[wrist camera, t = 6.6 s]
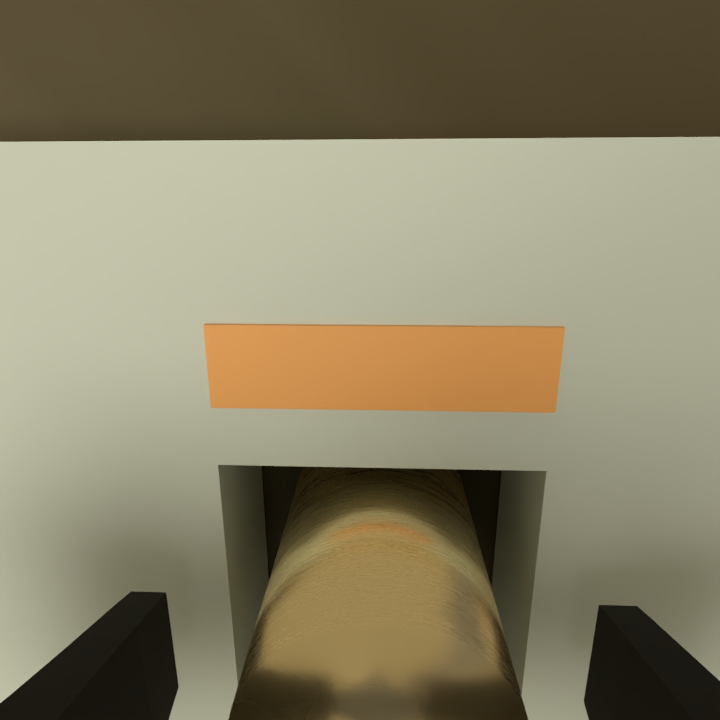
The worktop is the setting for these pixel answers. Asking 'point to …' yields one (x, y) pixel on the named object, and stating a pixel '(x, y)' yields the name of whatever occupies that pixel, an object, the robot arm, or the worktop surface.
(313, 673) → the cylinder
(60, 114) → the worktop surface
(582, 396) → the plate
